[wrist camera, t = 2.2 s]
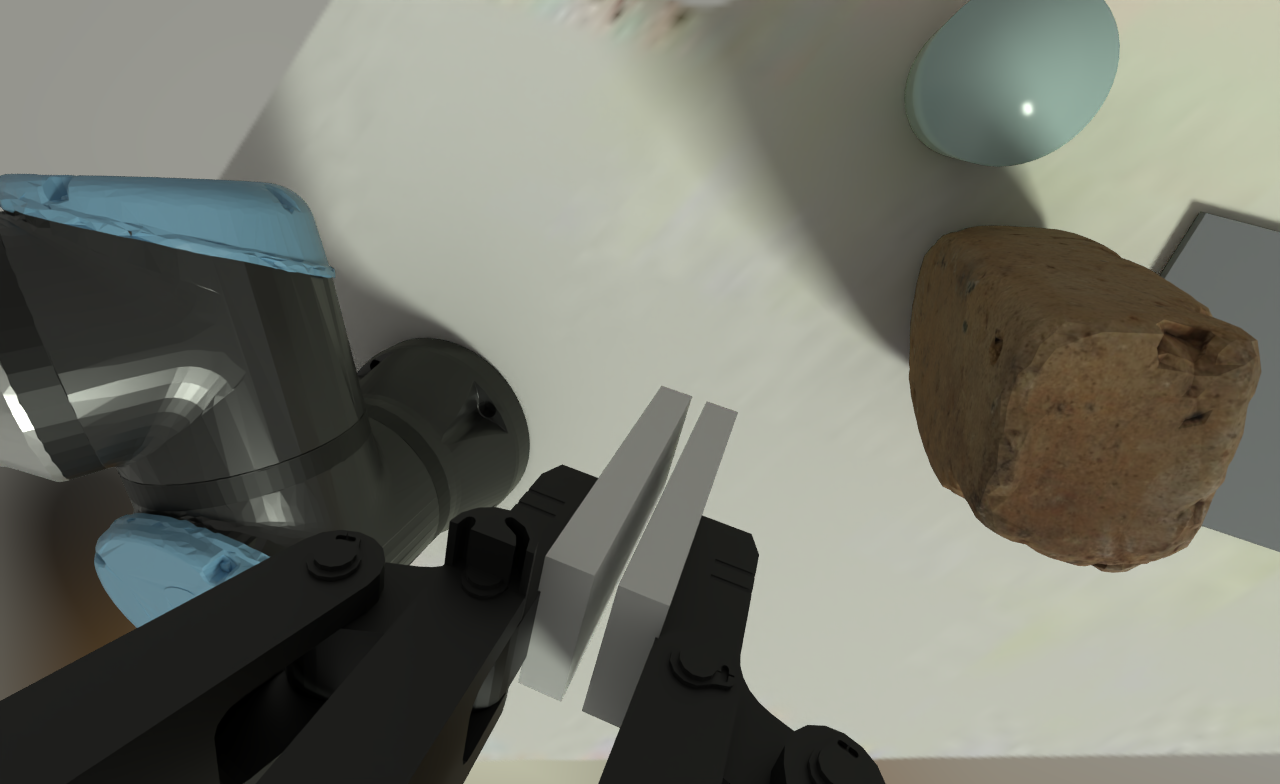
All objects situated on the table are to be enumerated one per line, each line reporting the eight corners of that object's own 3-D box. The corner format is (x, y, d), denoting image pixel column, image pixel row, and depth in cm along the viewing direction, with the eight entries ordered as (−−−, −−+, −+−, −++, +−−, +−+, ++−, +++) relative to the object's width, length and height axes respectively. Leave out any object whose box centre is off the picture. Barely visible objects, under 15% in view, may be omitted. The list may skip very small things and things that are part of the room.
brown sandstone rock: (928, 211, 35) (1020, 296, 17) (1078, 222, 33) (1351, 329, 16) (890, 387, 39) (932, 598, 22) (1020, 405, 38) (1182, 651, 20)
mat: (1038, 467, 39) (1041, 472, 38) (1200, 211, 32) (1206, 213, 31) (1342, 568, 36) (1349, 575, 35) (1592, 313, 29) (1607, 317, 28)
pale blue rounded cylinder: (883, 139, 34) (895, 142, 27) (939, -6, 31) (968, -46, 24) (1013, 173, 33) (1060, 185, 26) (1084, 26, 30) (1159, -5, 23)
